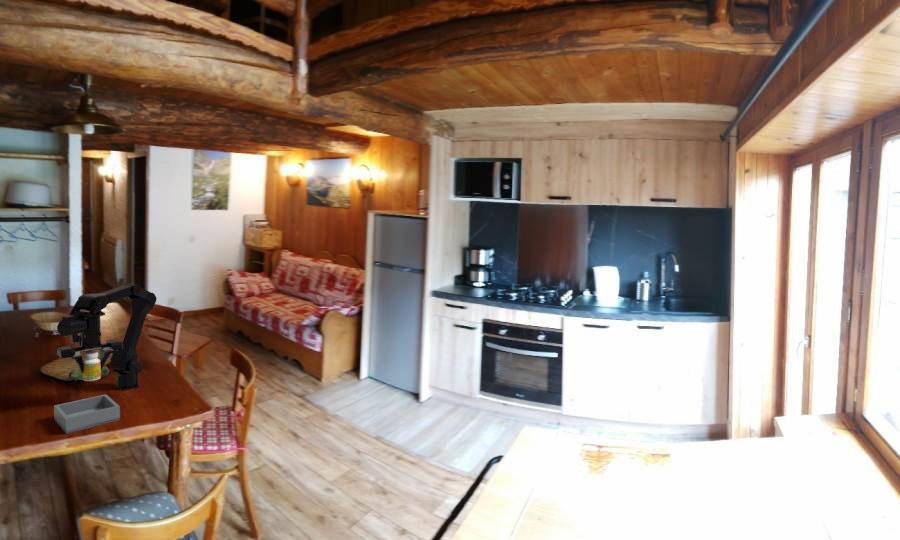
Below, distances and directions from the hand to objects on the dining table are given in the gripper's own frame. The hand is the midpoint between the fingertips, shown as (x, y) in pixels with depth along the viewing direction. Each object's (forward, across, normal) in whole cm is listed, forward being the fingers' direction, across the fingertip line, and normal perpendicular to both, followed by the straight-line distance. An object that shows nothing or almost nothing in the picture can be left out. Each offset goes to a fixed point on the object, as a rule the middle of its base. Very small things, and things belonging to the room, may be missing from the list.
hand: (91, 370), depth 178 cm
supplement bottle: (+3, 0, 0) cm, 3 cm away
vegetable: (+12, -6, -26) cm, 30 cm away
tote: (+12, +5, +15) cm, 20 cm away
